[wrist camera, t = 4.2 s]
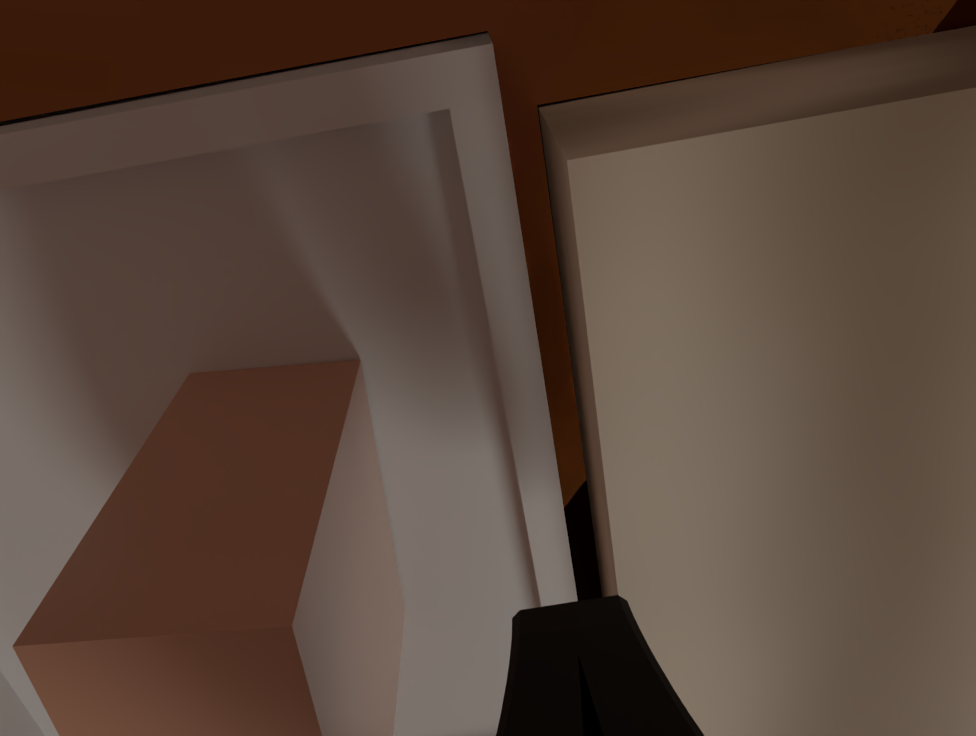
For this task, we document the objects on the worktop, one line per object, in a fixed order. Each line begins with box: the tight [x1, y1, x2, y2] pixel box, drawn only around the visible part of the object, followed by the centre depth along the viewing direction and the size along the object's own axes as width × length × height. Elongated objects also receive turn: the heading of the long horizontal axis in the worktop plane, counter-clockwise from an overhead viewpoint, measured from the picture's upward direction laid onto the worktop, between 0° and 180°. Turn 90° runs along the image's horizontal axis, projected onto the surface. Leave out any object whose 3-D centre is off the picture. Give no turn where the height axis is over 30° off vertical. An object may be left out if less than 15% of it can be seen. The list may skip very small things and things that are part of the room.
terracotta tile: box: [12, 360, 405, 736], centre depth 10 cm, size 5×5×2 cm
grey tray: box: [0, 31, 578, 736], centre depth 13 cm, size 11×14×1 cm
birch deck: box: [537, 25, 976, 736], centre depth 12 cm, size 8×12×3 cm, turn 10°
